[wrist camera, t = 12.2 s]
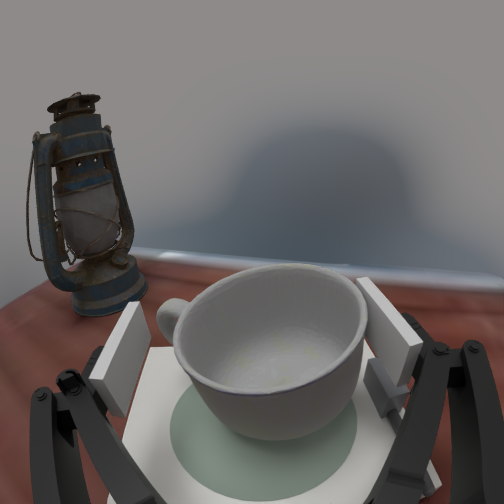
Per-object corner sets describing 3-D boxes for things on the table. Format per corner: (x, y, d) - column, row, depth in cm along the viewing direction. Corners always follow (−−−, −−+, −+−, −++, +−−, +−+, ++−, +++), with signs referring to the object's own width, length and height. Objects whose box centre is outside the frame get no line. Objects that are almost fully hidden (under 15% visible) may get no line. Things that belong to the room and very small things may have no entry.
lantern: (101, 338, 29) (47, 74, 18) (39, 319, 32) (-7, 117, 21) (171, 268, 46) (146, 86, 35) (109, 266, 50) (83, 110, 39)
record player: (114, 532, 9) (81, 515, 7) (155, 359, 26) (143, 327, 24) (433, 497, 9) (462, 474, 8) (354, 338, 26) (359, 305, 25)
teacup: (378, 362, 19) (386, 270, 16) (317, 487, 11) (314, 419, 8) (234, 328, 27) (214, 253, 24) (154, 402, 19) (108, 323, 16)
